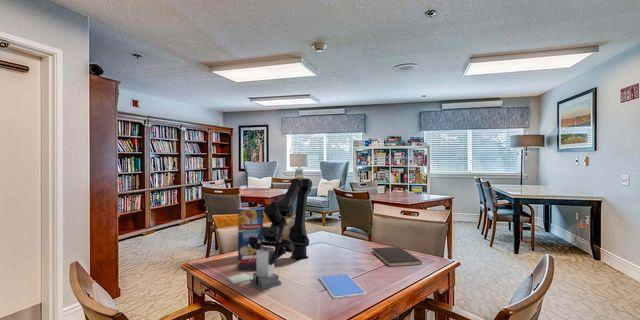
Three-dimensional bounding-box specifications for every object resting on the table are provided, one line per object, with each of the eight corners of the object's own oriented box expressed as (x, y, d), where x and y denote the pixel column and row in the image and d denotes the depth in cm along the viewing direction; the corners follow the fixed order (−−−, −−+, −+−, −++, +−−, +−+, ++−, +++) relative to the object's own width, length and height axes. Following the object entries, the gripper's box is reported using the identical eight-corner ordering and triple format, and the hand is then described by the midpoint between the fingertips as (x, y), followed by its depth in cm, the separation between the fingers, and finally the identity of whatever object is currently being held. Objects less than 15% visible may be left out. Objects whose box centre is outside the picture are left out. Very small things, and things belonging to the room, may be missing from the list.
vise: (270, 277, 127) (270, 262, 127) (281, 284, 120) (281, 269, 120) (250, 282, 122) (250, 267, 122) (259, 290, 115) (259, 274, 115)
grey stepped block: (263, 271, 124) (262, 246, 124) (274, 273, 123) (274, 247, 123) (253, 278, 117) (253, 251, 117) (265, 280, 116) (264, 253, 116)
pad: (245, 274, 131) (245, 273, 131) (252, 280, 125) (252, 278, 125) (227, 278, 126) (227, 277, 126) (233, 284, 120) (233, 283, 120)
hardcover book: (388, 267, 140) (388, 262, 140) (371, 252, 163) (371, 248, 163) (421, 265, 143) (421, 260, 143) (400, 250, 165) (400, 246, 165)
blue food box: (263, 253, 159) (263, 207, 159) (263, 258, 152) (263, 209, 152) (239, 255, 157) (239, 207, 157) (237, 259, 150) (237, 210, 150)
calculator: (242, 255, 146) (274, 252, 147) (242, 264, 147) (275, 262, 148) (237, 263, 136) (272, 260, 137) (238, 273, 136) (273, 270, 137)
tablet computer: (366, 296, 111) (366, 292, 111) (333, 300, 107) (333, 296, 107) (347, 276, 130) (347, 273, 130) (318, 279, 126) (318, 276, 126)
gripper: (249, 216, 128) (234, 251, 118) (291, 219, 122) (278, 255, 111) (259, 231, 135) (245, 265, 125) (299, 234, 129) (288, 270, 119)
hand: (263, 264), depth 120 cm, fingers open, 6 cm apart
